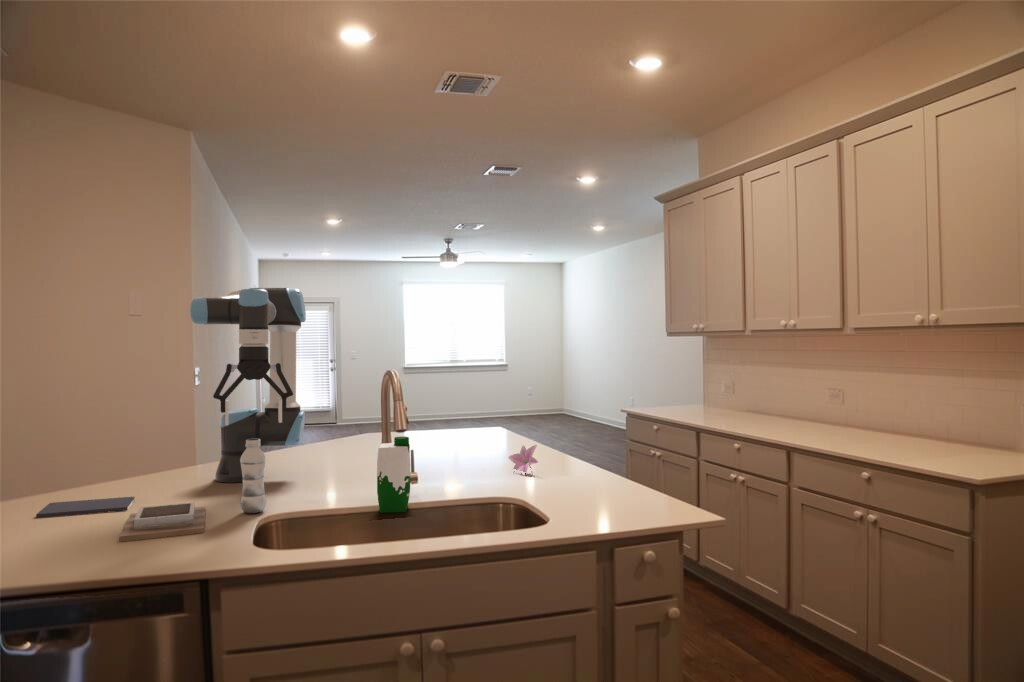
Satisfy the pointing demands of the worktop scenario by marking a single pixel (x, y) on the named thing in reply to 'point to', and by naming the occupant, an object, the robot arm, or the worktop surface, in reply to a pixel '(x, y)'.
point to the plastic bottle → (253, 477)
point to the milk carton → (393, 475)
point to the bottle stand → (164, 521)
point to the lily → (523, 458)
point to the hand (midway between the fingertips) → (253, 423)
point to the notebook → (85, 507)
